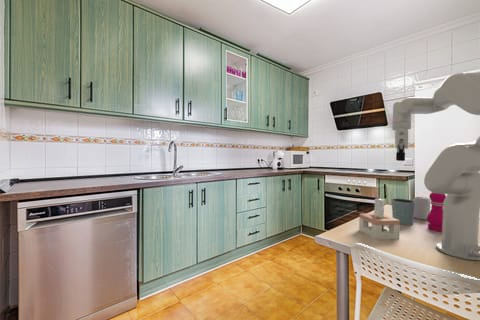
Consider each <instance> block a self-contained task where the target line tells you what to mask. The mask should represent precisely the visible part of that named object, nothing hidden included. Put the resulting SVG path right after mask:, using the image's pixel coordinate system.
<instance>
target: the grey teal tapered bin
mask: <svg viewBox="0 0 480 320" xmlns="http://www.w3.org/2000/svg"><path fill="white" fill-rule="evenodd" d="M414 207H415V201H413V199H412V200H411V199H406V198H391V210H392V211H391V212H392V216H391V217H392V218H395V219H398V220H400V226H401V225H403V226H413V224H414V215H413V214H414Z"/></svg>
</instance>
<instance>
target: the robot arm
mask: <svg viewBox="0 0 480 320" xmlns="http://www.w3.org/2000/svg"><path fill="white" fill-rule="evenodd" d="M451 106H456V107H458V108H460V109H461V110H463V111H464V112H465V113H466V112H467V113H468V114H471V115H476V116H480V72H456V73H452V75H449V76H448V77H446V78H445V79H444V80H443V81H442V83H441V85H440V86H439V87H437V88H436V90H435V91H434V93H433V96H431V97H426V96H423V97H419V96H417V97H414V96H413V97H411V96H410V97H406V98H404V99H402V100H400V101H397V102H394V103H393V106H392V129H391V130H393V131H394V145H395V149H396V153H395V154H396V156H395V159H396V160H395V161H400V162H404V161H406V160H405V159H406V151H405V150H406V149H409V130H411V129H412V115H429V114H430V115H431V114H434V113H439V112H442V111H445V110H447V109H448V108H449V107H451ZM423 179H424V180H423V182H424V186H425V188H426V189H427V190H428V191H429V192H431V193H432V192H433V193H437V194H445V196H446V198H445V200H444V204H443V221H442V232H441V242H437V243H436V244H435V248H436V249H437V250H438V251H439V252H442V253H443V254H446V255H449V256H452V257H453V258H454V257H455V258H458V259H464V260H469V261H480V244H479V232H480V230H479V229H480V135H479V136H478V137H477V139H475V140H474V141H473V142H467V143H465V142H463V143H461V142H460V143H455V144H452V145H449V146H447V147H445V148H444V149H443V150H442V151H441V152H440V153H439V155H438V156H437V157H436V159H435V160H434V161H433V163H432V164H431V166H430V167H429V168H428V170H427V172H426V173H425V175H424V178H423Z"/></svg>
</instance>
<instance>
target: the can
mask: <svg viewBox="0 0 480 320" xmlns="http://www.w3.org/2000/svg"><path fill="white" fill-rule="evenodd" d="M412 201H415V207H414V214H413V215H414V217H413V219H417V220H421V221H427V216H428V214H429V213H430V211H431V204H430V203H431V199H430V198H429V197H427V196H426V197H425V196H414V198H413V199H412Z"/></svg>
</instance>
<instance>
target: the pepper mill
mask: <svg viewBox="0 0 480 320" xmlns="http://www.w3.org/2000/svg"><path fill="white" fill-rule="evenodd" d="M446 196H447V195H446V194H437V193H433V192H431V193H430V194H429V196H428V198H429V200H430V205H431V207H430V213H429V214H428V216H427V220H426V222H427V223H428V224H427V229H428V230H430V231H434V232H440V233H442V221H443V204H444V200H445V198H446Z"/></svg>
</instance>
